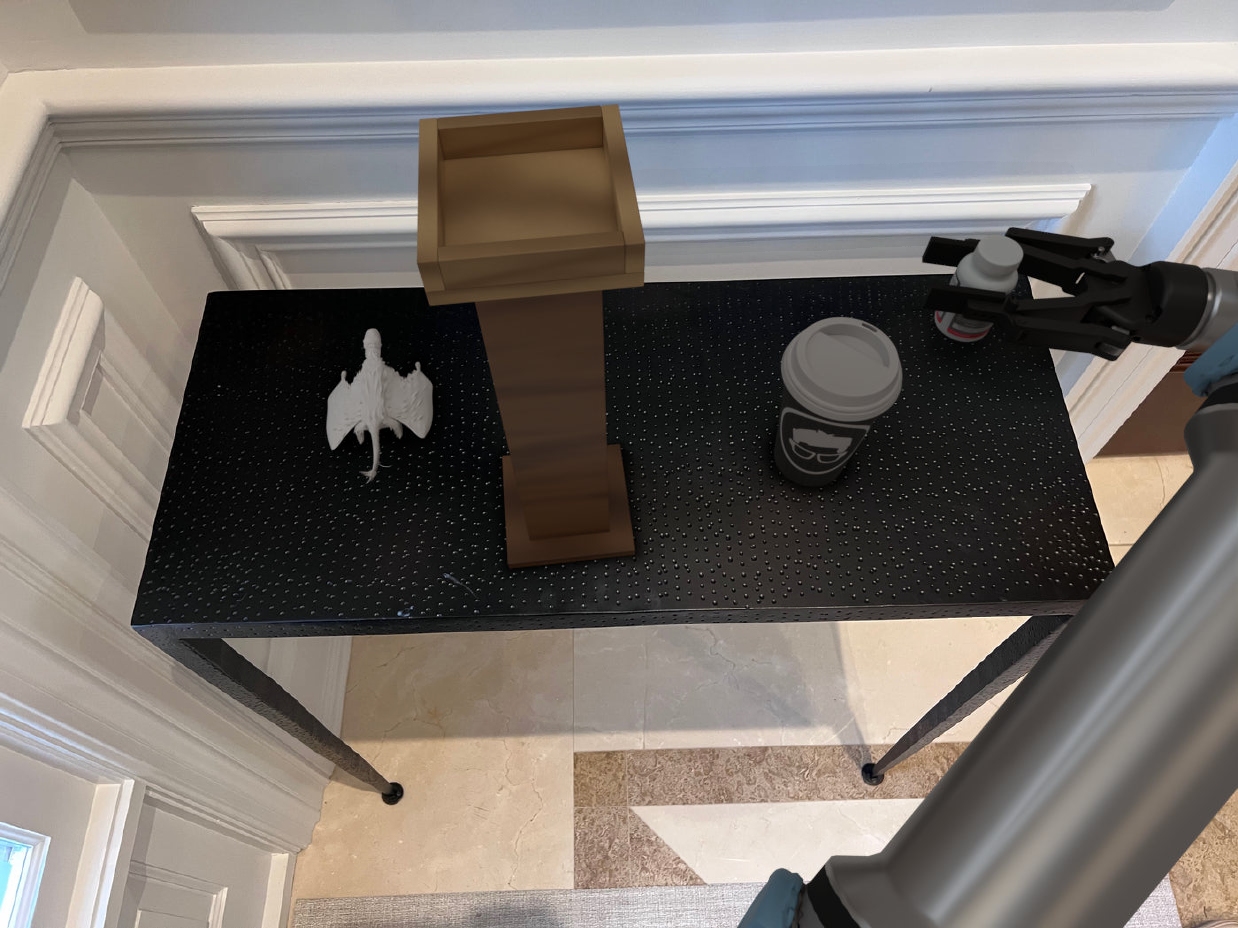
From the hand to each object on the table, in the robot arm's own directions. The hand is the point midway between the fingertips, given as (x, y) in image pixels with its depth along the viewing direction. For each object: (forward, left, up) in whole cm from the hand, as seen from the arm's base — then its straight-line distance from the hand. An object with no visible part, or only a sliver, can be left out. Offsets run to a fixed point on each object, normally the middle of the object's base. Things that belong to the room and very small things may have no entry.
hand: (927, 272), depth 74 cm
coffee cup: (-14, +13, -9) cm, 21 cm away
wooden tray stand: (-16, +36, -9) cm, 40 cm away
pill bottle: (-2, -5, -6) cm, 8 cm away
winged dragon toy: (-5, +53, -9) cm, 54 cm away
